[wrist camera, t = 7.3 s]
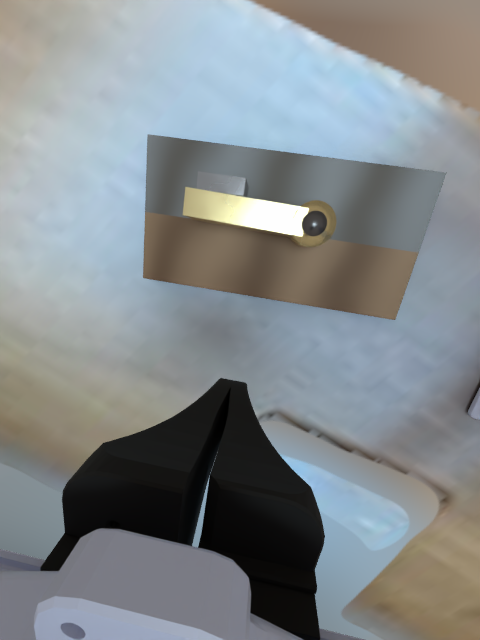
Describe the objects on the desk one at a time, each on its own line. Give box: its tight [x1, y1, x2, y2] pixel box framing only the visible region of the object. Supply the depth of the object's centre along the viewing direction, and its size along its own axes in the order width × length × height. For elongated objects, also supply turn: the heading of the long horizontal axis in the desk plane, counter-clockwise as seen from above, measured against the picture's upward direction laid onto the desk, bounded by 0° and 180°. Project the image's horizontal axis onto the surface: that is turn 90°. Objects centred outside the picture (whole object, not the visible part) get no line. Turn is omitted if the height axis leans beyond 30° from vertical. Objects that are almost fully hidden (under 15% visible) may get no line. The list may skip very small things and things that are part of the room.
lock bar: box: [183, 187, 337, 247], centre depth 16 cm, size 9×3×3 cm, turn 80°
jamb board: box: [143, 135, 446, 320], centre depth 18 cm, size 20×10×1 cm, turn 81°
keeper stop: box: [196, 171, 249, 197], centre depth 16 cm, size 3×1×2 cm, turn 81°
